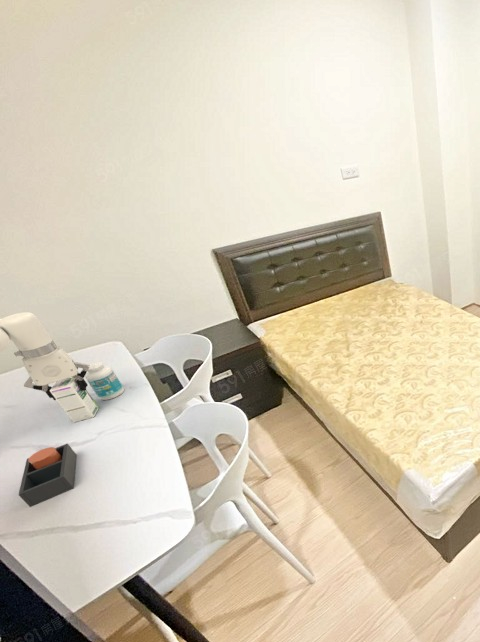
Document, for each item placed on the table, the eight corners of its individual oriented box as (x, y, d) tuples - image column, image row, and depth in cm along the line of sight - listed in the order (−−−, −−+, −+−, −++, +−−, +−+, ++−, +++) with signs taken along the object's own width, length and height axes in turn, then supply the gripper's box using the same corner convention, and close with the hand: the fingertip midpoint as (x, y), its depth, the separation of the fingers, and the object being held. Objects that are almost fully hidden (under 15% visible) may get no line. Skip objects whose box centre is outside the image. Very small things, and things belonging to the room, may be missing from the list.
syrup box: (94, 417, 140) (71, 384, 133) (72, 423, 137) (48, 389, 130) (99, 408, 144) (78, 375, 137) (78, 413, 142) (55, 380, 135)
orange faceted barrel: (42, 482, 114) (26, 465, 111) (44, 470, 118) (29, 454, 115) (68, 471, 118) (54, 454, 114) (69, 460, 121) (56, 444, 118)
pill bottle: (95, 402, 147) (74, 373, 140) (107, 390, 153) (88, 361, 147) (118, 398, 148) (99, 369, 142) (129, 387, 155) (111, 358, 148)
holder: (31, 508, 108) (18, 495, 105) (38, 472, 119) (26, 458, 116) (75, 490, 113) (63, 476, 110) (78, 456, 124) (67, 443, 121)
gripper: (-3, 365, 120) (33, 410, 128) (75, 344, 129) (103, 387, 138) (2, 355, 125) (36, 399, 133) (76, 335, 134) (104, 378, 143)
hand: (70, 393), depth 136 cm, fingers closed on syrup box, 6 cm apart
